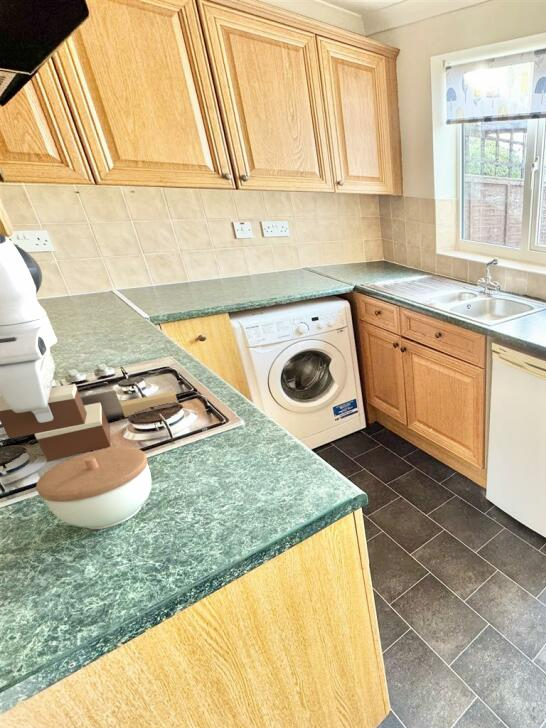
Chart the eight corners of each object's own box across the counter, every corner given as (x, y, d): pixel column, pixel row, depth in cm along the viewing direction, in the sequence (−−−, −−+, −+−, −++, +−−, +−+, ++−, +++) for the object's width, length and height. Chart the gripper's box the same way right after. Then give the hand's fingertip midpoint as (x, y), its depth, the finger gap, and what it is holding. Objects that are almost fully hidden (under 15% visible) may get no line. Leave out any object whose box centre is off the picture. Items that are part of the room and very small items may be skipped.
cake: (47, 461, 80) (34, 435, 78) (51, 439, 87) (39, 414, 84) (110, 446, 86) (100, 420, 83) (109, 426, 92) (100, 402, 90)
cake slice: (8, 438, 68) (-8, 406, 66) (14, 426, 72) (-1, 395, 69) (84, 424, 74) (72, 393, 71) (87, 413, 77) (75, 383, 74)
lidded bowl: (126, 542, 64) (100, 484, 60) (35, 543, 63) (2, 485, 58) (178, 488, 76) (160, 436, 71) (102, 488, 74) (79, 436, 70)
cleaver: (43, 435, 88) (30, 408, 85) (44, 430, 89) (31, 403, 87) (178, 405, 102) (171, 381, 99) (177, 402, 104) (170, 378, 101)
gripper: (-6, 322, 71) (28, 394, 77) (-30, 360, 57) (13, 445, 63) (48, 317, 75) (76, 386, 81) (36, 352, 61) (71, 432, 67)
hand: (48, 412), depth 72 cm, fingers closed on cake slice, 5 cm apart
